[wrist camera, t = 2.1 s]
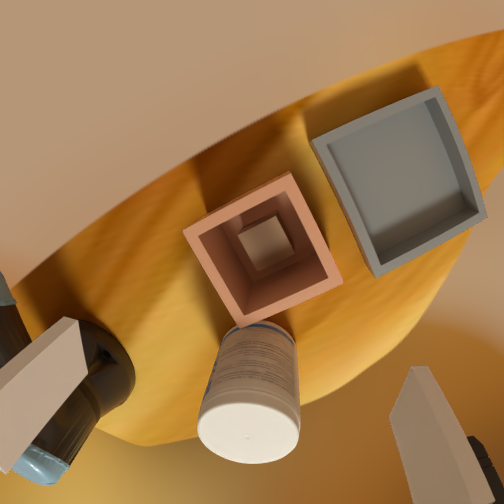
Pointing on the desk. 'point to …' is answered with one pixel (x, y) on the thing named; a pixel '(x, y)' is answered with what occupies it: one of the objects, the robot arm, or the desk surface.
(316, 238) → the terracotta bin
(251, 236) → the walnut block
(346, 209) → the gray tray
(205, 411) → the supplement tub
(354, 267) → the desk surface
